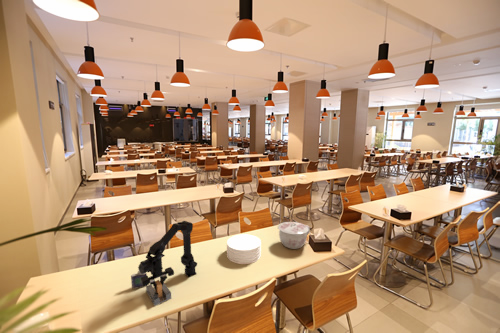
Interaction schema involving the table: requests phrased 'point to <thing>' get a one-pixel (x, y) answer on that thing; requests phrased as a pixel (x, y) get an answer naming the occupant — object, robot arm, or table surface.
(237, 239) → the plate stack
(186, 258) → the robot arm
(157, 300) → the rail
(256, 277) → the table surface
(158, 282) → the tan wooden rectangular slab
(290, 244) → the chamber pot
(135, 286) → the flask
